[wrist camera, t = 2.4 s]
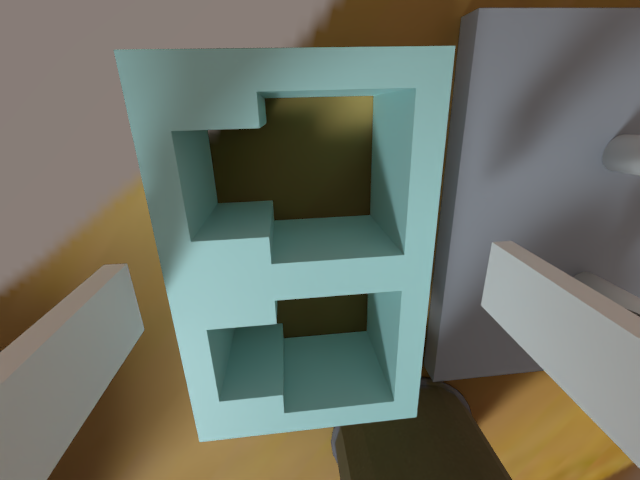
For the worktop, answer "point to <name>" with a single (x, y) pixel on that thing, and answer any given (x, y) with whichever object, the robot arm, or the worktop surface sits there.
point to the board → (536, 170)
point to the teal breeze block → (291, 233)
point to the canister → (419, 443)
